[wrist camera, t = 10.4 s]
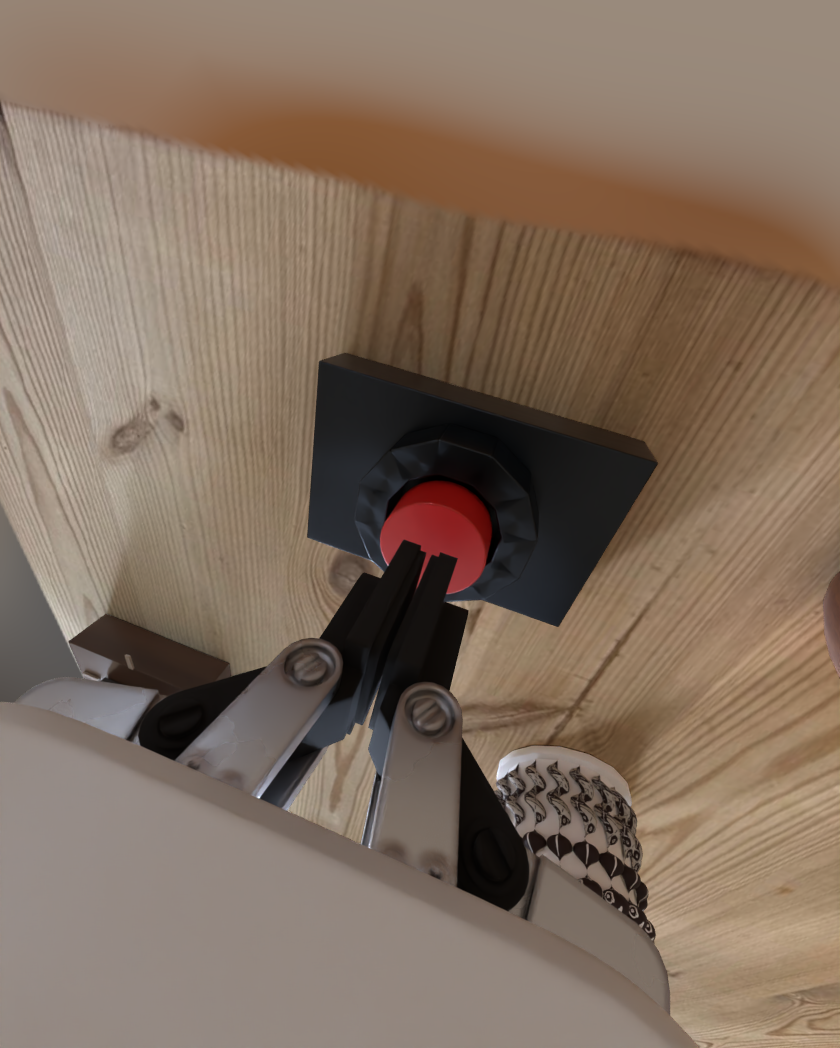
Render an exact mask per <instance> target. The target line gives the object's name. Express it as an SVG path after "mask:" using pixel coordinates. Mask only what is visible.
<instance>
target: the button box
mask: <svg viewBox="0 0 840 1048" xmlns="http://www.w3.org/2000/svg"><path fill="white" fill-rule="evenodd" d="M657 464H658V462H657V461H656V459H655V458H654V456H653V454H652V453H651V451H650V450H649V448H648V447H647V445H646V443H645V442H644V441H641V440H638V439H635V438H631V437H628V436H625V435H621V434H618V433H614V432H611V431H608V430H604V429H601V428H598V427H594V426H591V425H587V424H584V423H581V422H577V421H574V420H571V419H567V418H564V417H561V416H557V415H554V414H550V413H547V412H544V411H540V410H537V409H534V408H530V407H527V406H523V405H520V404H517V403H513V402H510V401H507V400H503V399H500V398H496V397H493V396H490V395H486V394H483V393H480V392H476V391H473V390H469V389H466V388H463V387H459V386H456V385H453V384H449V383H446V382H443V381H439V380H436V379H432V378H429V377H426V376H422V375H419V374H416V373H412V372H409V371H405V370H402V369H399V368H395V367H392V366H389V365H385V364H382V363H378V362H375V361H372V360H368V359H365V358H362V357H358V356H355V355H351V354H348V353H343V354H339V355H336V356H333V357H330V358H327V359H324V360H321V361H319V371H318V386H317V401H316V416H315V430H314V445H313V460H312V475H311V489H310V504H309V519H308V534H307V537H308V538H310V539H312V540H315V541H318V542H321V543H324V544H326V545H329V546H332V547H335V548H338V549H340V550H343V551H346V552H349V553H352V554H355V555H357V556H360V557H363V558H366V559H369V560H371V561H373V562H374V563H375V564H376V565H377V566H378V567H379V568H380V569H381V570H383V571H384V572H385V570H386V568H387V567H388V565H387V563H386V562H385V559H384V557H383V555H382V551H381V546H380V535H381V530H382V527H383V525H384V523H385V521H386V520H387V518H388V517H389V515H390V514H391V513H392V511H393V510H394V508H395V507H396V505H397V504H398V502H399V501H400V499H401V498H402V497H403V495H404V494H405V493H406V492H407V491H408V490H410V489H411V488H412V487H414V486H416V485H418V484H421V483H424V482H428V481H448V482H452V483H456V484H458V485H461V486H463V487H465V488H467V489H468V490H470V491H471V492H473V493H474V494H475V495H476V496H477V497H478V498H479V499H480V500H481V501H482V502H483V504H484V505H485V507H486V508H487V510H488V512H489V514H490V517H491V521H492V537H491V542H490V546H489V551H488V555H487V560H486V564H485V567H484V570H483V572H482V574H481V575H480V577H479V578H478V579H477V580H476V581H475V582H474V583H473V584H472V585H471V586H469V587H468V588H466V589H464V590H461V591H459V592H455V593H450V594H446V596H445V599H444V602H453V601H471V600H484V601H486V602H489V603H492V604H495V605H498V606H500V607H503V608H506V609H509V610H512V611H515V612H517V613H520V614H523V615H526V616H529V617H531V618H534V619H537V620H540V621H543V622H545V623H548V624H551V625H554V626H557V627H559V625H560V624H561V622H562V620H563V619H564V617H565V615H566V614H567V612H568V610H569V609H570V607H571V605H572V604H573V602H574V601H575V599H576V597H577V596H578V594H579V592H580V591H581V589H582V587H583V586H584V584H585V582H586V581H587V579H588V578H589V576H590V574H591V573H592V571H593V569H594V568H595V566H596V564H597V563H598V561H599V560H600V558H601V556H602V555H603V553H604V551H605V550H606V548H607V546H608V545H609V543H610V541H611V540H612V538H613V537H614V535H615V533H616V532H617V530H618V528H619V527H620V525H621V523H622V522H623V520H624V518H625V517H626V515H627V514H628V512H629V510H630V509H631V507H632V505H633V504H634V502H635V500H636V499H637V497H638V495H639V494H640V492H641V491H642V489H643V487H644V486H645V484H646V482H647V481H648V479H649V477H650V476H651V474H652V473H653V471H654V469H655V468H656V466H657Z"/></svg>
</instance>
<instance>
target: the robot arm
mask: <svg viewBox="0 0 840 1048" xmlns="http://www.w3.org/2000/svg"><path fill="white" fill-rule="evenodd" d="M425 557H426V552H423V551H421V545H418V544H416V543H413V542H410V541H407V540H403V541H402V543H401V544H400V546H399V548H398V549H397V551H396V553H395V555H394V556H393V558H392V560H391V562H390V563H389V565H388V567H387V568H386V570H385V572H384V574H383V575H382V577H381V578H378V577H375V576H373V575H370V574H367V573H363V574H362V575H361V576H360V577H359V579H358V580H357V582H356V583H355V585H354V586H353V588H352V589H351V591H350V593H349V594H348V596H347V597H346V599H345V600H344V602H343V603H342V605H341V606H340V608H339V609H338V611H337V612H336V614H335V615H334V617H333V618H332V620H331V622H330V623H329V625H328V626H327V628H326V629H325V631H324V632H323V634H322V635H321V637H320V638H319V639H317V638H307V639H301V640H299V641H296V642H294V643H292V644H290V645H289V646H288V647H286V648H285V649H284V650H283V651H282V652H281V653H280V654H279V655H278V656H277V657H276V658H275V659H274V660H273V661H272V662H271V663H270V664H269V665H268V666H267V667H263V668H260V669H256V670H253V671H249V672H246V673H242V674H239V675H235V676H232V677H228V678H225V679H221V680H218V681H214V682H211V683H207V684H204V685H200V686H197V687H193V688H190V689H186V690H183V691H179V692H177V693H174V694H172V695H170V696H166V695H159V691H158V690H154V689H148V688H141V687H134V686H128V685H121V684H115V683H108V682H101V681H95V680H88V679H81V678H75V677H60V678H56V679H52V680H48V681H45V682H43V683H41V684H39V685H37V686H35V687H33V688H31V689H29V690H28V691H27V692H26V693H25V694H23V695H22V696H21V697H20V698H18V699H17V700H16V701H15V702H14V703H9V702H0V1048H699V1047H698V1045H697V1044H696V1043H695V1042H694V1041H693V1040H692V1038H691V1037H690V1036H689V1035H688V1034H687V1033H686V1032H685V1031H684V1030H683V1029H682V1028H681V1027H680V1026H679V1025H678V1023H677V1022H676V1021H675V1020H674V1019H673V1018H672V1017H671V1016H670V990H669V983H668V976H667V971H666V969H665V966H664V963H663V961H662V958H661V956H660V953H659V951H658V949H657V948H656V946H655V945H654V943H653V942H652V940H651V939H650V937H649V935H648V934H647V933H646V932H645V931H644V930H643V929H642V928H641V927H640V926H639V925H638V924H637V923H636V922H635V921H633V920H632V919H630V918H629V917H628V916H626V915H625V914H624V913H622V912H621V911H620V910H618V909H617V908H615V907H614V906H613V905H611V904H610V903H609V902H607V901H606V900H604V899H603V898H602V897H600V896H599V895H598V894H596V893H595V892H593V891H592V890H591V889H589V888H588V887H587V886H585V885H584V884H583V883H581V882H580V881H578V880H577V879H576V878H574V877H573V876H572V875H570V874H569V873H567V872H566V871H565V870H563V869H562V868H561V867H559V866H558V865H557V864H555V863H554V862H552V861H551V860H550V859H548V858H547V857H546V856H544V855H543V854H542V855H541V856H540V857H538V856H537V855H535V854H534V853H533V852H531V851H530V850H529V849H527V848H526V847H525V846H524V844H523V842H522V840H521V837H520V835H519V834H518V832H517V830H516V828H515V827H514V825H513V823H512V822H511V820H510V818H509V817H508V815H507V813H506V811H505V810H504V808H503V806H502V805H501V803H500V801H499V799H498V798H497V796H496V794H495V793H494V791H493V789H492V787H491V786H490V784H489V782H488V781H487V779H486V777H485V776H484V774H483V772H482V770H481V769H480V767H479V765H478V764H477V762H476V760H475V758H474V757H473V755H472V753H471V752H470V750H469V748H468V747H467V745H466V743H465V741H464V740H463V738H462V723H463V719H462V710H461V708H460V705H459V703H458V701H457V699H456V698H455V697H454V696H453V694H452V693H451V692H450V691H449V690H450V686H451V682H452V678H453V674H454V670H455V666H456V661H457V657H458V653H459V649H460V645H461V641H462V637H463V633H464V629H465V625H466V621H467V616H468V610H466V609H463V608H461V607H458V606H455V605H452V604H450V603H447V602H444V599H445V596H446V593H447V590H448V587H449V584H450V581H451V578H452V575H453V572H454V569H455V566H456V563H457V560H458V558H456V557H453V556H450V555H447V554H444V553H441V552H440V554H439V557H438V556H435V555H431V557H430V560H429V562H428V564H427V566H426V569H425V571H424V573H423V576H422V578H421V580H420V582H419V585H418V581H419V578H420V574H421V571H422V567H423V564H424V560H425ZM417 585H418V587H417ZM416 588H417V589H416ZM378 688H379V690H378ZM377 690H378V693H377ZM376 693H377V697H376V701H375V705H374V708H373V712H372V716H371V720H370V723H369V727H368V728H370V729H372V730H373V734H372V737H371V741H370V744H369V748H368V750H369V753H370V755H371V758H372V760H373V763H374V765H375V768H376V773H375V777H374V782H373V787H372V792H371V796H370V801H369V806H368V811H367V816H366V821H365V825H364V830H363V835H362V840H361V844H360V843H357V842H355V841H353V840H351V839H348V838H346V837H344V836H342V835H339V834H337V833H335V832H333V831H331V830H328V829H326V828H324V827H322V826H319V825H317V824H315V823H313V822H310V821H308V820H306V819H304V818H302V817H299V816H297V815H295V814H293V813H290V812H288V811H287V810H288V809H289V807H290V806H291V804H292V803H293V801H294V800H295V798H296V797H297V795H298V794H299V792H300V791H301V789H302V788H303V786H304V784H305V783H306V781H307V780H308V778H309V777H310V775H311V774H312V772H313V771H314V769H315V768H316V766H317V765H318V763H319V762H320V760H321V759H322V757H323V756H324V754H325V753H326V751H327V748H328V746H329V745H331V744H333V743H336V742H338V741H341V740H343V739H344V738H345V735H346V733H347V734H349V735H350V734H351V731H352V729H353V727H354V725H355V723H358V724H360V725H363V723H364V721H365V719H366V716H367V714H368V712H369V709H370V707H371V705H372V702H373V700H374V697H375V695H376Z"/></svg>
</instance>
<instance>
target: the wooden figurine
mask: <svg viewBox="0 0 840 1048" xmlns="http://www.w3.org/2000/svg"><path fill="white" fill-rule="evenodd" d="M823 607H824V634H825V639H826V643H827V647H828V651H829V655H830V658H831V660H832V662H833V664H834V667H835V669H836V671H837V673H838V676H839V678H840V572H839V573H838V574H837V575H836V576H835V577H834V578H833V579H832V581H831V582H830V584H829V587H828V589H827V592H826V594H825V597H824V599H823Z"/></svg>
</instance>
